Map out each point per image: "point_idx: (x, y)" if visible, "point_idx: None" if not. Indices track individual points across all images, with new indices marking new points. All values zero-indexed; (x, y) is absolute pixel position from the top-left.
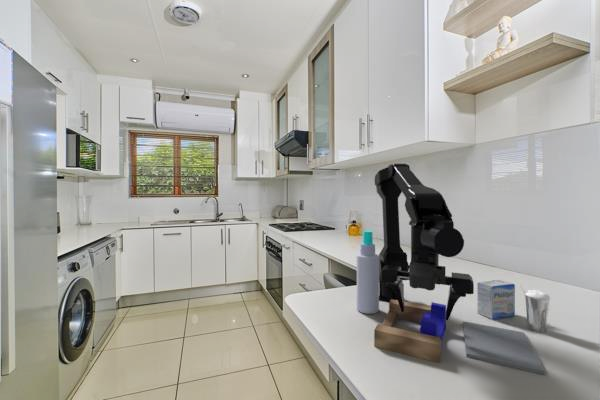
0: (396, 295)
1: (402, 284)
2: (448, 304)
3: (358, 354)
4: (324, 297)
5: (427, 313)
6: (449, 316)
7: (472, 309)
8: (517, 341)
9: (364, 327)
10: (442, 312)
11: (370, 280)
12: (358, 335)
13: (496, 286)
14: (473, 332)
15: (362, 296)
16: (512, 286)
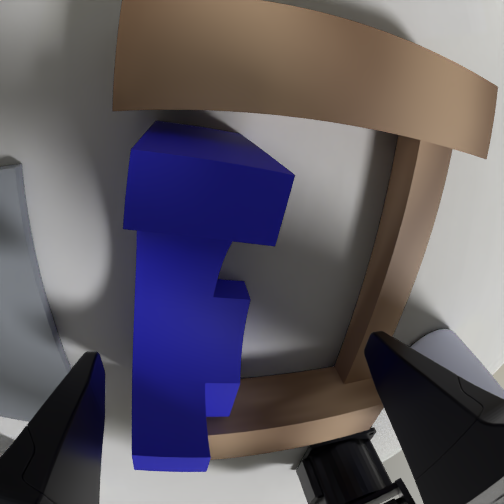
0: (475, 387)
1: (428, 493)
2: (52, 449)
3: (471, 14)
4: (499, 349)
5: (220, 415)
6: (70, 372)
7: (100, 479)
8: None
9: (460, 227)
10: (144, 426)
11: None
12: None
13: None
14: (37, 371)
15: (482, 368)
16: None
